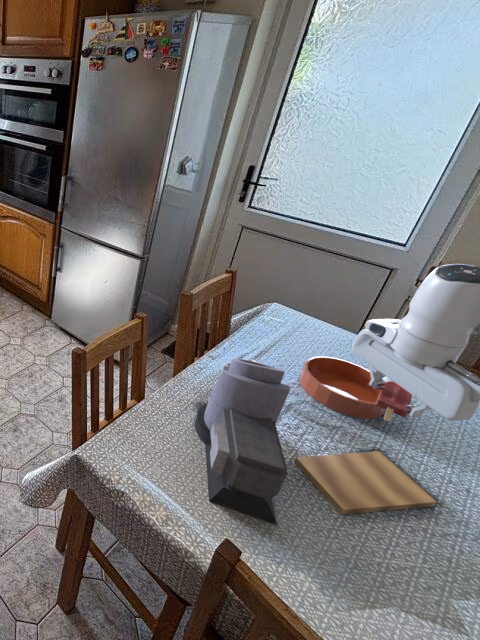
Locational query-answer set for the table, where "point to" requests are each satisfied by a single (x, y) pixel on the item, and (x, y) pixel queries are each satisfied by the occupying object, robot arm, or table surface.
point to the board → (363, 482)
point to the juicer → (244, 438)
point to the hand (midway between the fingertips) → (392, 400)
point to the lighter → (227, 365)
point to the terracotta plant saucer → (340, 386)
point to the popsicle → (393, 400)
